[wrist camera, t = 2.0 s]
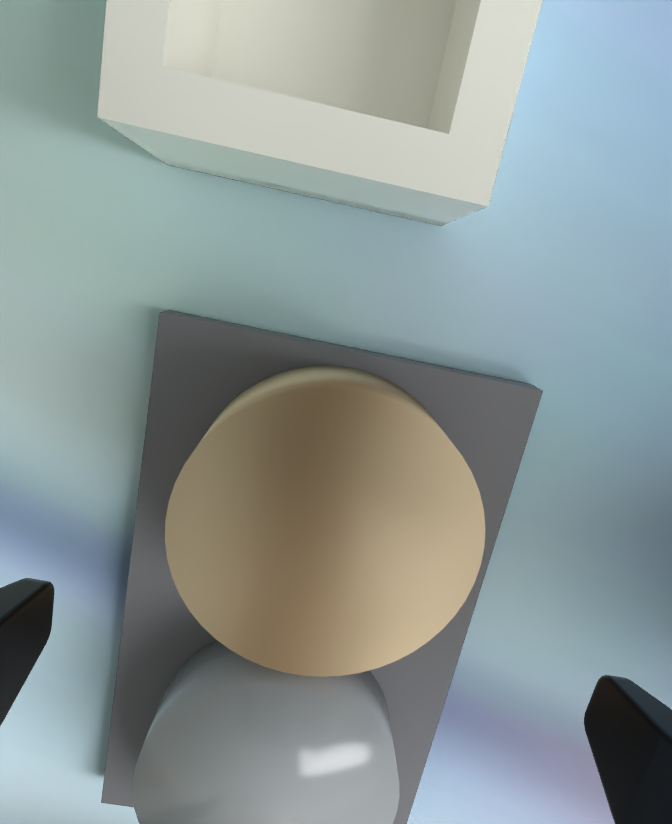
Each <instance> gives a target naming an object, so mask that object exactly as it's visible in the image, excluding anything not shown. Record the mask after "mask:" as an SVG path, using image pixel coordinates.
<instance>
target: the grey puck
mask: <svg viewBox="0 0 672 824" xmlns="http://www.w3.org/2000/svg"><path fill="white" fill-rule="evenodd" d="M132 796H133V802H134V809H135V812H136V815H137V818H138V821H139V823H140V824H393V822H394V819H395V816H396V813H397V809H398V803H399V777H398V771H397V764H396V758H395V751H394V744H393V738H392V731H391V724H390V718H389V711H388V705H387V702H386V699H385V696H384V693H383V691H382V689H381V687H380V685H379V683H378V681H377V680H376V679H375V677H374V676H373V674H372V673H371V672H370V670H369V671H365V672H361V673H356V674H350V675H343V676H327V677H317V676H302V675H296V674H291V673H285V672H281V671H277V670H274V669H271V668H267V667H264V666H262V665H259V664H257V663H255V662H252V661H250V660H247V659H245V658H244V657H242V656H240V655H238V654H237V653H235V652H233V651H231V650H230V649H228V648H227V647H226V646H224V645H223V644H222V643H220V642H219V641H218V640H216V641H214V642H212V643H210V644H209V645H207V646H205V647H203V648H201V649H200V650H199V651H197V652H196V653H195V654H193V655H192V656H191V657H189V658H188V659H187V660H186V661H185V662H184V663H183V664H182V665H181V666H180V667H179V669H178V670H177V671H176V673H175V674H174V675H173V677H172V678H171V680H170V681H169V683H168V685H167V687H166V689H165V691H164V693H163V696H162V699H161V701H160V704H159V706H158V709H157V711H156V714H155V716H154V719H153V722H152V724H151V727H150V729H149V732H148V734H147V737H146V739H145V742H144V745H143V747H142V750H141V752H140V755H139V758H138V761H137V763H136V766H135V771H134V776H133V786H132Z"/></svg>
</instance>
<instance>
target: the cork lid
mask: <svg viewBox="0 0 672 824" xmlns="http://www.w3.org/2000/svg"><path fill="white" fill-rule="evenodd" d="M165 546H166V554H167V560H168V564H169V568H170V571H171V575H172V578H173V581H174V583H175V585H176V588H177V590H178V592H179V594H180V596H181V598H182V599H183V601H184V603H185V604H186V606H187V608H188V609H189V611H190V612H191V613H192V615H193V616H194V617H195V618H196V620H197V621H198V622H199V623H200V625H201V626H202V627H203V628H204V629H206V630H207V631H208V632H209V633H210V634H211V635H212V636H213V637H214V638H215V639H216V640H218V641H219V642H220V643H222V644H223V645H224V646H226V647H227V648H228V649H230V650H231V651H233V652H235V653H237V654H238V655H240V656H242V657H244V658H245V659H247V660H250V661H252V662H255V663H257V664H259V665H262V666H264V667H267V668H271V669H274V670H277V671H281V672H285V673H291V674H296V675H302V676H317V677H327V676H343V675H350V674H356V673H361V672H365V671H369V670H373V669H376V668H379V667H382V666H385V665H387V664H390V663H392V662H395V661H397V660H399V659H401V658H403V657H405V656H407V655H409V654H410V653H412V652H414V651H415V650H417V649H418V648H420V647H421V646H423V645H424V644H426V643H427V642H429V641H430V640H431V639H432V638H433V637H434V636H435V635H437V634H438V633H439V632H440V631H441V630H442V629H443V628H444V627H445V626H446V625H447V624H448V623H449V622H450V621H451V619H452V618H453V617H454V616H455V615H456V613H457V612H458V611H459V609H460V608H461V606H462V605H463V603H464V602H465V600H466V599H467V597H468V595H469V593H470V591H471V589H472V587H473V585H474V583H475V580H476V577H477V575H478V572H479V569H480V566H481V562H482V557H483V552H484V546H485V517H484V508H483V504H482V500H481V496H480V491H479V489H478V486H477V484H476V481H475V479H474V476H473V474H472V472H471V470H470V468H469V467H468V465H467V463H466V461H465V460H464V458H463V456H462V455H461V454H460V452H459V451H458V450H457V448H456V447H455V446H454V444H453V443H452V442H451V441H450V439H449V438H448V437H447V435H446V434H445V433H444V432H443V430H442V429H441V428H440V426H439V425H438V424H437V422H436V421H435V420H434V419H433V417H432V416H431V415H430V414H429V412H428V411H427V410H426V409H425V408H424V407H423V406H422V405H421V404H420V403H419V402H418V401H417V400H416V399H415V398H414V397H413V396H412V395H410V394H409V393H407V392H406V391H405V390H403V389H402V388H401V387H399V386H397V385H395V384H394V383H392V382H390V381H388V380H386V379H384V378H382V377H379V376H377V375H374V374H372V373H369V372H366V371H362V370H358V369H353V368H349V367H340V366H310V367H303V368H297V369H292V370H289V371H285V372H282V373H279V374H276V375H273V376H271V377H269V378H267V379H264V380H262V381H260V382H258V383H257V384H255V385H253V386H252V387H250V388H248V389H247V390H245V391H244V392H243V393H241V394H240V395H239V396H238V397H236V398H235V399H234V400H233V401H231V402H230V403H229V404H228V406H227V407H226V408H225V409H224V410H223V411H222V412H221V413H220V414H219V415H218V417H217V418H216V420H215V421H214V422H213V424H212V425H211V427H210V428H209V430H208V431H207V433H206V434H205V435H204V437H203V438H202V440H201V441H200V443H199V444H198V446H197V447H196V448H195V450H194V451H193V453H192V454H191V456H190V457H189V459H188V460H187V461H186V463H185V464H184V466H183V468H182V470H181V472H180V474H179V476H178V478H177V480H176V482H175V484H174V487H173V490H172V493H171V496H170V499H169V503H168V509H167V514H166V520H165Z"/></svg>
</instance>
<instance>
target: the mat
mask: <svg viewBox="0 0 672 824" xmlns="http://www.w3.org/2000/svg"><path fill="white" fill-rule="evenodd" d="M310 366H340V367H349V368H353V369H358V370H362V371H366V372H369V373H372V374H374V375H377V376H379V377H382V378H384V379H386V380H388V381H390V382H392V383H394V384H395V385H397V386H399V387H401V388H402V389H403V390H405V391H406V392H407V393H409V394H410V395H412V396H413V397H414V398H415V399H416V400H417V401H418V402H419V403H420V404H421V405H422V406H423V407H424V408H425V409H426V410H427V411H428V412H429V414H430V415H431V416H432V417H433V419H434V420H435V421H436V422H437V424H438V425H439V426H440V428H441V429H442V430H443V432H444V433H445V434H446V435H447V437H448V438H449V439H450V441H451V442H452V443H453V444H454V446H455V447H456V448H457V450H458V451H459V452H460V454H461V455H462V456H463V458H464V460H465V461H466V463H467V465H468V467H469V468H470V470H471V472H472V474H473V476H474V479H475V481H476V484H477V486H478V489H479V491H480V496H481V500H482V504H483V508H484V517H485V546H484V552H483V557H482V562H481V566H480V569H479V572H478V575H477V577H476V580H475V583H474V585H473V587H472V589H471V591H470V593H469V595H468V597H467V599H466V600H465V602H464V603H463V605H462V606H461V608H460V609H459V611H458V612H457V613H456V615H455V616H454V617H453V618H452V619H451V621H450V622H449V623H448V624H447V625H446V626H445V627H444V628H443V629H442V630H441V631H440V632H439V633H438V634H437V635H435V636H434V637H433V638H432V639H431V640H430V641H429V642H427V643H426V644H424V645H423V646H421V647H420V648H418V649H417V650H415V651H414V652H412V653H410V654H409V655H407V656H405V657H403V658H401V659H399V660H397V661H395V662H392V663H390V664H387V665H385V666H382V667H379V668H376V669H373V670H370V672H371V673H372V674H373V676H374V677H375V679H376V680H377V681H378V683H379V685H380V687H381V689H382V691H383V693H384V696H385V699H386V702H387V705H388V711H389V718H390V724H391V731H392V738H393V744H394V751H395V758H396V764H397V771H398V777H399V803H398V809H397V813H396V816H395V819H394V822H393V824H407V821H408V817H409V814H410V811H411V808H412V805H413V802H414V798H415V795H416V792H417V789H418V786H419V783H420V779H421V776H422V773H423V770H424V767H425V763H426V760H427V757H428V754H429V751H430V748H431V744H432V741H433V738H434V735H435V732H436V729H437V725H438V722H439V719H440V716H441V713H442V710H443V706H444V703H445V700H446V697H447V694H448V690H449V687H450V684H451V681H452V678H453V675H454V671H455V668H456V665H457V662H458V659H459V656H460V652H461V649H462V646H463V643H464V640H465V637H466V633H467V630H468V627H469V624H470V621H471V617H472V614H473V611H474V608H475V605H476V602H477V598H478V595H479V592H480V589H481V586H482V583H483V579H484V576H485V573H486V570H487V567H488V564H489V560H490V557H491V554H492V551H493V548H494V544H495V541H496V538H497V535H498V532H499V529H500V525H501V522H502V519H503V516H504V513H505V510H506V506H507V503H508V500H509V497H510V494H511V491H512V487H513V484H514V481H515V478H516V475H517V472H518V468H519V465H520V462H521V459H522V456H523V452H524V449H525V446H526V443H527V440H528V437H529V433H530V430H531V427H532V424H533V421H534V418H535V414H536V411H537V408H538V405H539V402H540V399H541V395H542V392H543V391H542V390H540V389H539V388H537V387H535V386H533V385H531V384H526V383H521V382H516V381H512V380H507V379H502V378H497V377H492V376H487V375H482V374H477V373H472V372H468V371H463V370H458V369H453V368H448V367H443V366H438V365H433V364H429V363H424V362H419V361H414V360H409V359H404V358H399V357H394V356H390V355H385V354H380V353H375V352H370V351H365V350H360V349H355V348H351V347H346V346H341V345H336V344H331V343H326V342H321V341H316V340H312V339H307V338H302V337H297V336H292V335H287V334H282V333H277V332H273V331H268V330H263V329H258V328H253V327H248V326H243V325H238V324H234V323H229V322H224V321H219V320H214V319H209V318H204V317H199V316H194V315H190V314H185V313H180V312H175V311H170V310H168V311H164V312H160V315H159V323H158V332H157V340H156V348H155V357H154V365H153V374H152V382H151V390H150V399H149V407H148V415H147V424H146V432H145V440H144V449H143V457H142V466H141V474H140V482H139V491H138V499H137V507H136V516H135V524H134V532H133V541H132V549H131V557H130V566H129V574H128V583H127V591H126V599H125V608H124V616H123V624H122V633H121V641H120V649H119V658H118V666H117V675H116V683H115V691H114V700H113V708H112V716H111V725H110V733H109V741H108V750H107V758H106V767H105V775H104V783H103V792H102V800H101V803H108V804H115V805H122V806H129V807H134V802H133V796H132V786H133V776H134V771H135V766H136V763H137V761H138V758H139V755H140V752H141V750H142V747H143V745H144V742H145V739H146V737H147V734H148V732H149V729H150V727H151V724H152V722H153V719H154V716H155V714H156V711H157V709H158V706H159V704H160V701H161V699H162V696H163V693H164V691H165V689H166V687H167V685H168V683H169V681H170V680H171V678H172V677H173V675H174V674H175V673H176V671H177V670H178V669H179V667H180V666H181V665H182V664H183V663H184V662H185V661H186V660H187V659H188V658H189V657H191V656H192V655H193V654H195V653H196V652H197V651H199V650H200V649H201V648H203V647H205V646H207V645H209V644H210V643H212V642H214V641H216V639H215V638H214V637H213V636H212V635H211V634H210V633H209V632H208V631H207V630H206V629H204V628H203V627H202V626H201V625H200V623H199V622H198V621H197V620H196V618H195V617H194V616H193V615H192V613H191V612H190V611H189V609H188V608H187V606H186V604H185V603H184V601H183V599H182V598H181V596H180V594H179V592H178V590H177V588H176V585H175V583H174V581H173V578H172V575H171V571H170V568H169V564H168V560H167V554H166V546H165V520H166V514H167V509H168V503H169V499H170V496H171V493H172V490H173V487H174V484H175V482H176V480H177V478H178V476H179V474H180V472H181V470H182V468H183V466H184V464H185V463H186V461H187V460H188V459H189V457H190V456H191V454H192V453H193V451H194V450H195V448H196V447H197V446H198V444H199V443H200V441H201V440H202V438H203V437H204V435H205V434H206V433H207V431H208V430H209V428H210V427H211V425H212V424H213V422H214V421H215V420H216V418H217V417H218V415H219V414H220V413H221V412H222V411H223V410H224V409H225V408H226V407H227V406H228V404H229V403H230V402H231V401H233V400H234V399H235V398H236V397H238V396H239V395H240V394H241V393H243V392H244V391H245V390H247V389H248V388H250V387H252V386H253V385H255V384H257V383H258V382H260V381H262V380H264V379H267V378H269V377H271V376H273V375H276V374H279V373H282V372H285V371H289V370H292V369H297V368H303V367H310Z"/></svg>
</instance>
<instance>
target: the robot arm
mask: <svg viewBox="0 0 672 824" xmlns="http://www.w3.org/2000/svg"><path fill="white" fill-rule="evenodd" d="M53 601H54V587H53V584H52V583H51V582H49V581H43V580H37V579H31V578H24V579H22V580H19V581H16V582H14V583H12V584H9V585H7V586H4V587H2V588H0V726H1V724H2V722H3V720H4V719H5V717H6V715H7V713H8V711H9V710H10V708H11V706H12V704H13V702H14V701H15V699H16V697H17V695H18V693H19V692H20V690H21V688H22V686H23V684H24V683H25V681H26V679H27V677H28V675H29V674H30V672H31V670H32V668H33V666H34V665H35V663H36V661H37V659H38V657H39V655H40V654H41V652H42V650H43V648H44V646H45V645H46V643H47V640H48V638H49V635H50V632H51V626H52V614H53ZM584 725H585V731H586V734H587V737H588V741H589V744H590V747H591V750H592V753H593V756H594V759H595V763H596V766H597V769H598V772H599V775H600V778H601V781H602V785H603V788H604V791H605V794H606V797H607V800H608V803H609V807H610V810H611V813H612V816H613V819H614V822H615V824H672V710H671V709H670V708H668V707H667V706H666V705H664V704H663V703H662V702H660V701H659V700H657V699H656V698H655V697H653V696H652V695H650V694H649V693H648V692H646V691H645V690H643V689H642V688H641V687H639V686H638V685H636V684H635V683H634V682H632V681H631V680H629V679H626V678H622V677H616V676H610V675H605V676H602V677H601V678H600V679H599V680H598V682H597V684H596V687H595V689H594V692H593V694H592V697H591V699H590V702H589V704H588V707H587V709H586V712H585V717H584Z"/></svg>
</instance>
